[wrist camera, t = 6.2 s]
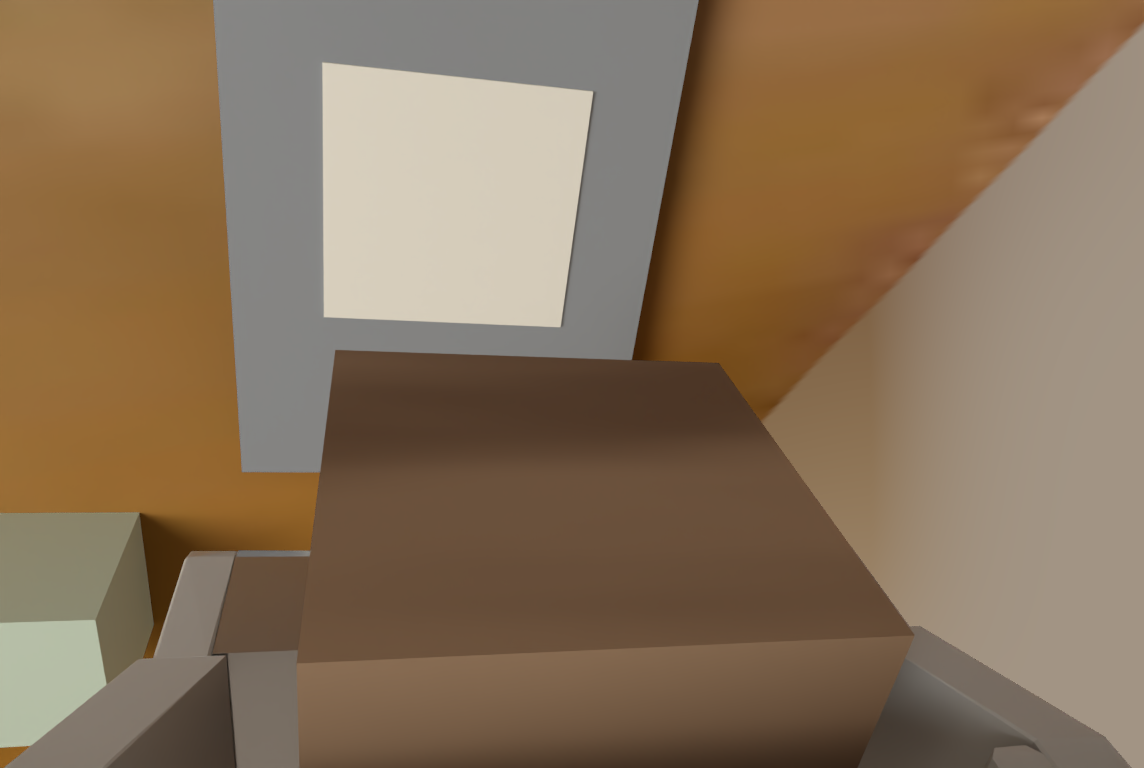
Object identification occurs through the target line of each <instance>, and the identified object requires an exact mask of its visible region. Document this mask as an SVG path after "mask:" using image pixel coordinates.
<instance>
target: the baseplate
mask: <svg viewBox="0 0 1144 768" xmlns="http://www.w3.org/2000/svg"><path fill="white" fill-rule="evenodd" d="M698 1H699V0H213V4H214V20H215V37H216V53H217V69H218V86H219V102H220V119H221V135H222V152H223V168H224V184H225V201H226V217H227V234H228V250H229V267H230V283H231V299H232V316H233V332H234V349H235V365H236V381H237V398H238V414H239V431H240V447H241V464H242V472H320V469H321V461H322V453H323V445H324V437H325V429H326V421H327V413H328V405H329V397H330V389H331V380H332V372H333V364H334V356H335V350H353V351H382V352H411V353H441V354H470V355H499V356H528V357H557V358H586V359H615V360H632V356H633V351H634V345H635V340H636V334H637V329H638V324H639V318H640V313H641V308H642V302H643V297H644V291H645V286H646V281H647V275H648V270H649V265H650V259H651V254H652V249H653V243H654V238H655V232H656V227H657V222H658V216H659V211H660V206H661V200H662V195H663V189H664V184H665V179H666V173H667V168H668V163H669V157H670V152H671V146H672V141H673V136H674V130H675V125H676V120H677V114H678V109H679V104H680V98H681V93H682V87H683V82H684V77H685V71H686V66H687V61H688V55H689V50H690V44H691V39H692V34H693V28H694V23H695V18H696V12H697V7H698Z"/></svg>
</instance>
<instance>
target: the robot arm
mask: <svg viewBox="0 0 1144 768" xmlns="http://www.w3.org/2000/svg"><path fill="white" fill-rule="evenodd" d="M851 548H852V547H851ZM852 549H853V548H852ZM854 552H855V551H854ZM855 553H856V552H855ZM857 556H858V555H857ZM858 557H859V556H858ZM309 558H310V551H242V550H239V551H238V552H236V551H191V552H190V554H189V555H188V556H187V557H186V559H185V560H184V563H183V566H182V569H181V572H180V575H179V578H178V582H177V585H176V588H175V591H174V594H173V597H172V600H171V603H170V607H169V610H168V613H167V616H166V619H165V622H164V625H163V628H162V632H161V635H160V638H159V641H158V644H157V647H156V650H155V654H154V657H153V658H150V659H138V660H137V661H135V662H134V663H133V664H132V665H130V666H129V667H128V668H127V669H125V670H124V671H123V672H122V673H120V674H119V675H118V676H117V677H115V678H114V679H113V680H112V681H111V682H109V683H108V684H107V685H106V686H104V687H103V688H102V689H101V690H99V691H98V692H97V693H96V694H94V695H93V696H92V697H91V698H90V699H88V700H87V701H86V702H85V703H83V704H82V705H81V706H80V707H78V708H77V709H76V710H75V711H73V712H72V713H71V714H70V715H69V716H67V717H66V718H65V719H64V720H62V721H61V722H60V723H59V724H57V725H56V726H55V727H54V728H52V729H51V730H50V731H49V732H47V733H46V734H45V735H44V736H43V737H41V738H40V739H39V740H38V741H36V742H35V743H34V744H33V745H31V746H30V747H29V748H28V749H26V750H25V751H24V752H23V753H22V754H20V755H19V756H18V757H17V758H15V759H14V760H13V761H12V762H10V763H9V764H8V765H7V766H5V767H4V768H299V736H298V701H297V666H296V663H297V655H298V647H299V639H300V631H301V623H302V615H303V607H304V599H305V590H306V582H307V574H308V566H309ZM859 559H860V558H859ZM860 560H861V559H860ZM862 563H863V562H862ZM863 564H864V563H863ZM864 566H865V565H864ZM865 567H866V566H865ZM866 568H867V567H866ZM867 570H868V569H867ZM868 571H869V570H868ZM870 574H871V573H870ZM871 575H872V574H871ZM872 577H873V576H872ZM873 578H874V577H873ZM874 579H875V578H874ZM875 581H876V580H875ZM876 582H877V581H876ZM877 584H878V582H877ZM878 585H879V584H878ZM879 586H880V585H879ZM880 588H881V587H880ZM881 589H882V588H881ZM882 591H883V589H882ZM883 592H884V591H883ZM884 593H885V592H884ZM885 595H886V593H885ZM886 596H887V595H886ZM887 597H888V596H887ZM888 599H889V598H888ZM889 600H890V599H889ZM890 602H891V600H890ZM891 603H892V602H891ZM892 604H893V603H892ZM893 606H894V604H893ZM894 607H895V606H894ZM895 609H896V607H895ZM896 610H897V609H896ZM897 611H898V610H897ZM898 613H899V611H898ZM899 614H900V613H899ZM900 615H901V614H900ZM901 617H902V615H901ZM902 618H903V617H902ZM903 620H904V618H903ZM904 621H905V620H904ZM905 622H906V621H905ZM906 624H907V622H906ZM907 625H908V624H907ZM908 627H909V628H910V629H911V631H912V632H913V634H914V635H915V636H914V639H913V641H912V643H911V646H910V648H909V650H908V653H907V655H906V657H905V659H904V662H903V664H902V666H901V669H900V671H899V673H898V676H897V678H896V680H895V683H894V685H893V687H892V689H891V692H890V694H889V696H888V699H887V701H886V703H885V706H884V708H883V710H882V713H881V715H880V717H879V719H878V722H877V724H876V726H875V729H874V731H873V733H872V736H871V738H870V740H869V743H868V745H867V747H866V749H865V752H864V754H863V756H862V759H861V761H860V763H859V766H858V768H1131V767H1130V765H1129V764H1128V763H1127V762H1126V761H1125V760H1124V759H1123V758H1122V756H1121V755H1120V754H1119V753H1118V751H1117V750H1116V749H1115V748H1114V747H1113V746H1112V745H1111V743H1110V742H1109V741H1108V740H1107V739H1106V738H1105V737H1104V736H1103V735H1101V734H1099V733H1098V732H1096V731H1094V730H1093V729H1091V728H1089V727H1088V726H1086V725H1084V724H1083V723H1081V722H1079V721H1078V720H1076V719H1074V718H1073V717H1071V716H1069V715H1067V714H1066V713H1064V712H1063V711H1061V710H1059V709H1058V708H1056V707H1054V706H1053V705H1051V704H1049V703H1048V702H1046V701H1044V700H1043V699H1041V698H1039V697H1038V696H1035V695H1034V694H1033V693H1031V692H1029V691H1028V690H1026V689H1024V688H1023V687H1021V686H1019V685H1018V684H1016V683H1014V682H1013V681H1011V680H1009V679H1007V678H1006V677H1004V676H1003V675H1001V674H999V673H997V672H996V671H994V670H993V669H991V668H989V667H988V666H986V665H984V664H983V663H981V662H979V661H977V660H976V659H974V658H972V657H971V656H969V655H967V654H966V653H964V652H962V651H961V650H959V649H957V648H956V647H954V646H952V645H951V644H949V643H947V642H945V641H944V640H942V639H941V638H939V637H937V636H935V635H934V634H932V633H931V632H929V631H927V630H926V629H924V628H922V627H920V626H912V627H910V626H909V625H908Z"/></svg>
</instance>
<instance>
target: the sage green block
mask: <svg viewBox="0 0 1144 768" xmlns="http://www.w3.org/2000/svg"><path fill="white" fill-rule="evenodd" d="M153 626H154V621H153V614H152V606H151V598H150V591H149V583H148V575H147V568H146V560H145V552H144V545H143V537H142V529H141V522H140V514H139V512H133V513H0V748H1V747H17V746H31V745H33V744H34V743H35V742H36V741H38V740H39V739H40V738H41V737H43V736H44V735H45V734H46V733H47V732H49V731H50V730H51V729H52V728H54V727H55V726H56V725H57V724H59V723H60V722H61V721H62V720H64V719H65V718H66V717H67V716H69V715H70V714H71V713H72V712H73V711H75V710H76V709H77V708H78V707H80V706H81V705H82V704H83V703H85V702H86V701H87V700H88V699H90V698H91V697H92V696H93V695H94V694H96V693H97V692H98V691H99V690H101V689H102V688H103V687H104V686H106V685H107V684H108V683H109V682H111V681H112V680H113V679H114V678H115V677H117V676H118V675H119V674H120V673H122V672H123V671H124V670H125V669H127V668H128V667H129V666H130V665H132V664H133V663H134V662H135V661H137V660H138V659H143V656H144V653H145V650H146V647H147V644H148V641H149V638H150V635H151V632H152V629H153Z"/></svg>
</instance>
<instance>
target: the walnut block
mask: <svg viewBox="0 0 1144 768" xmlns="http://www.w3.org/2000/svg"><path fill="white" fill-rule="evenodd" d="M914 636H915V635H914V634H913V632H912V631H911V629H910V628H909V627H908V625H907V624H906V622H905V621H904V620H903V618H902V617H901V615H900V614H899V613H898V611H897V610H896V609H895V607H894V606H893V604H892V603H891V602H890V600H889V599H888V597H887V596H886V595H885V593H884V592H883V591H882V589H881V588H880V586H879V585H878V584H877V582H876V581H875V579H874V578H873V577H872V575H871V574H870V572H869V571H868V570H867V568H866V567H865V566H864V564H863V563H862V561H861V560H860V559H859V557H858V556H857V554H856V553H855V552H854V550H853V549H852V548H851V546H850V545H849V544H848V542H847V541H846V539H845V538H844V537H843V535H842V534H841V532H840V531H839V529H838V528H837V527H836V525H835V524H834V523H833V521H832V520H831V518H830V517H829V516H828V514H827V513H826V512H825V510H824V509H823V507H822V506H821V505H820V503H819V502H818V500H817V499H816V498H815V496H814V495H813V493H812V492H811V491H810V489H809V488H808V487H807V485H806V484H805V483H804V481H803V480H802V478H801V477H800V476H799V474H798V473H797V471H796V470H795V468H794V467H793V466H792V464H791V463H790V462H789V460H788V459H787V457H786V456H785V455H784V453H783V452H782V450H781V449H780V448H779V446H778V445H777V443H776V442H775V441H774V439H773V438H772V437H771V435H770V434H769V432H768V431H767V430H766V428H765V427H764V425H763V424H762V423H761V421H760V420H759V418H758V417H757V416H756V414H755V413H754V412H753V410H752V409H751V407H750V406H749V405H748V403H747V402H746V400H745V399H744V398H743V396H742V395H741V394H740V392H739V391H738V389H737V388H736V387H735V385H734V384H733V382H732V381H731V380H730V378H729V377H728V375H727V374H726V373H725V371H724V370H723V369H722V367H721V366H720V364H719V363H702V362H673V361H644V360H615V359H586V358H557V357H528V356H499V355H470V354H441V353H411V352H382V351H353V350H335V356H334V364H333V372H332V380H331V389H330V397H329V405H328V413H327V421H326V429H325V437H324V445H323V453H322V461H321V469H320V477H319V485H318V494H317V502H316V510H315V518H314V526H313V534H312V542H311V550H310V558H309V566H308V574H307V582H306V590H305V599H304V607H303V615H302V623H301V631H300V639H299V647H298V655H297V663H296V666H297V701H298V736H299V768H858V766H859V763H860V761H861V759H862V756H863V754H864V752H865V749H866V747H867V745H868V743H869V740H870V738H871V736H872V733H873V731H874V729H875V726H876V724H877V722H878V719H879V717H880V715H881V713H882V710H883V708H884V706H885V703H886V701H887V699H888V696H889V694H890V692H891V689H892V687H893V685H894V683H895V680H896V678H897V676H898V673H899V671H900V669H901V666H902V664H903V662H904V659H905V657H906V655H907V653H908V650H909V648H910V646H911V643H912V641H913V639H914Z"/></svg>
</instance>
